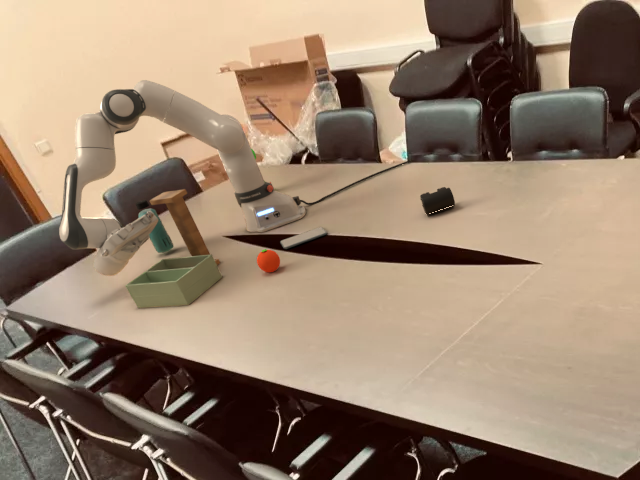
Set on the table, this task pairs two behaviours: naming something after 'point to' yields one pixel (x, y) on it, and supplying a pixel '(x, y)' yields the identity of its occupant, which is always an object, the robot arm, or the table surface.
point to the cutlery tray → (174, 281)
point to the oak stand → (183, 221)
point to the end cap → (437, 200)
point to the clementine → (268, 260)
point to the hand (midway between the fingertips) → (140, 219)
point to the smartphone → (303, 237)
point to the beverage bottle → (156, 230)
